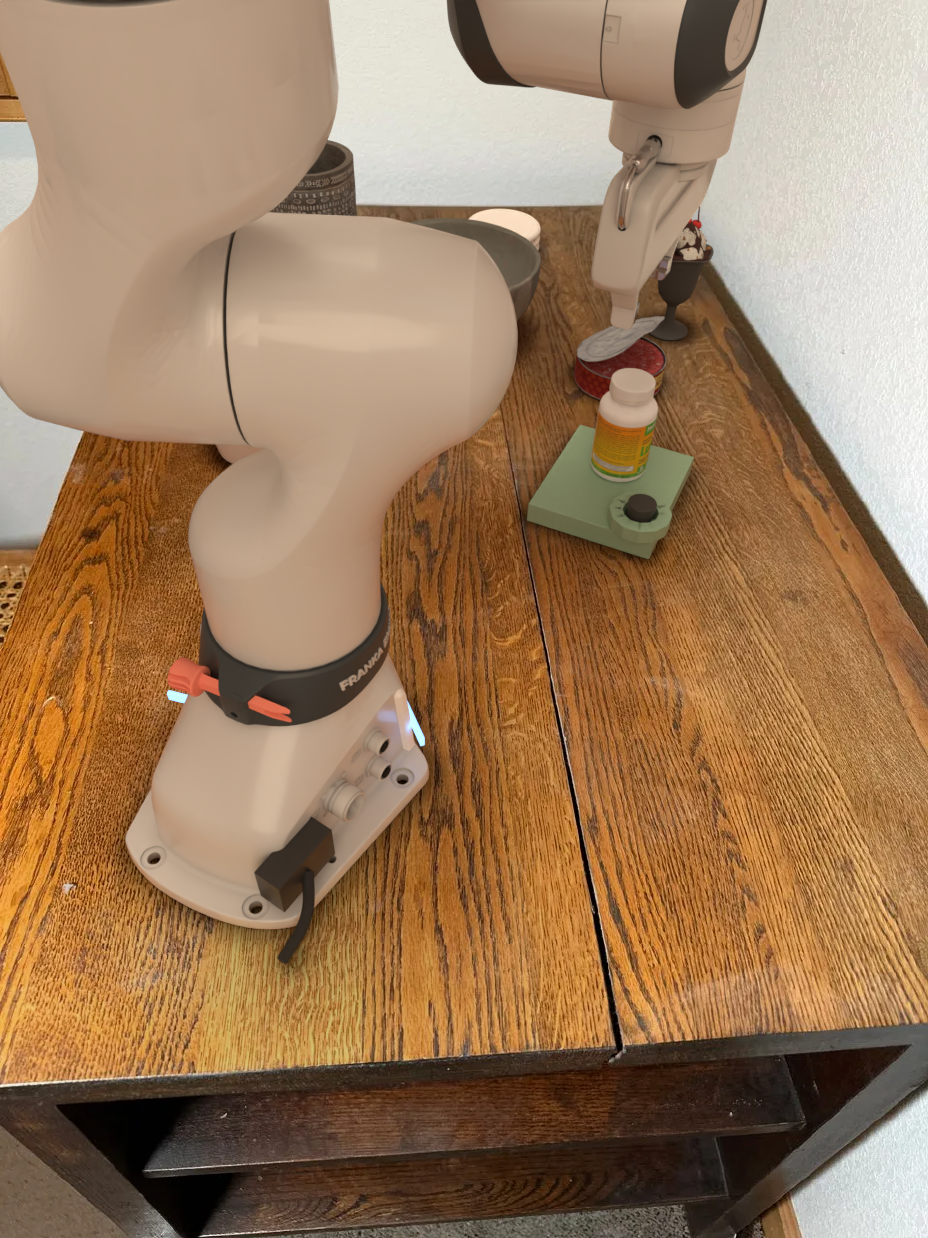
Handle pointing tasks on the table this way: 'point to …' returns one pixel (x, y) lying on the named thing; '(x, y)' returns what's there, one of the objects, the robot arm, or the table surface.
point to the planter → (325, 185)
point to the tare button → (641, 508)
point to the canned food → (618, 356)
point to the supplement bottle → (625, 426)
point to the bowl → (499, 254)
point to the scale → (608, 497)
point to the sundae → (682, 278)
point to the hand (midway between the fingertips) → (640, 299)
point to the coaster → (512, 222)
